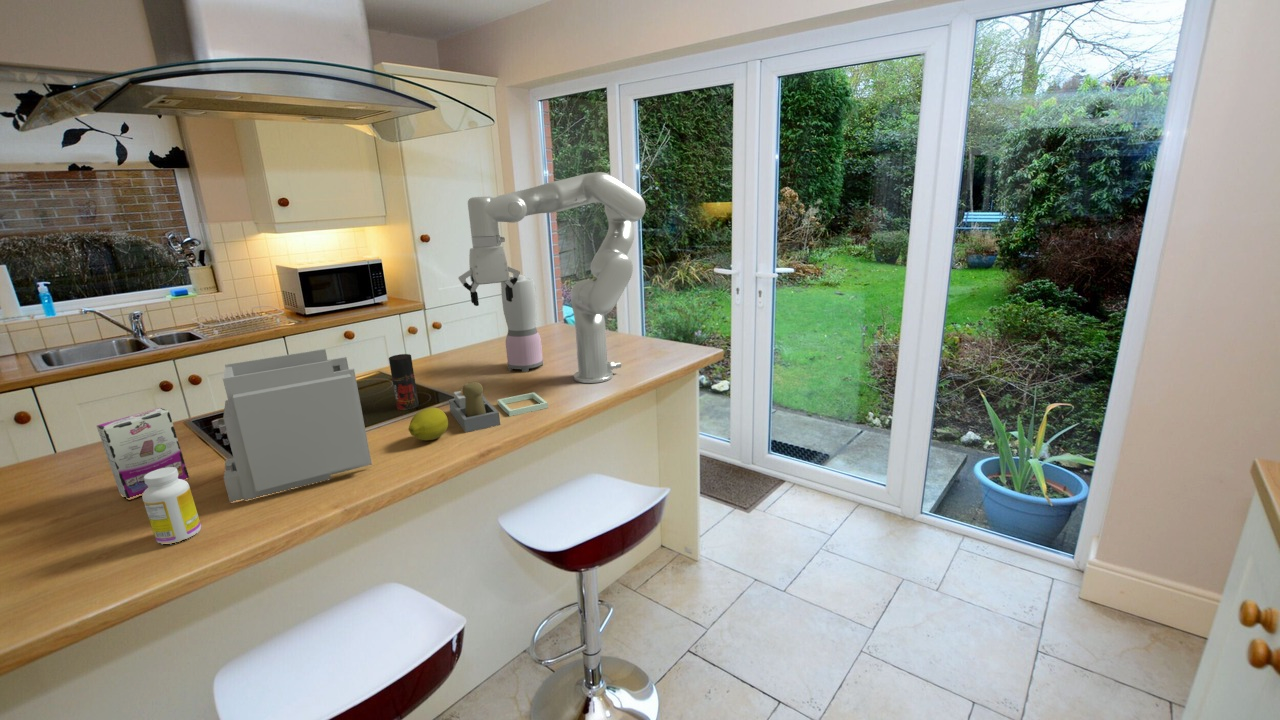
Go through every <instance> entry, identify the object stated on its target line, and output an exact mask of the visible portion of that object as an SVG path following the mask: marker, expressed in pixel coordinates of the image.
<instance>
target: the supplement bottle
mask: <svg viewBox="0 0 1280 720" xmlns="http://www.w3.org/2000/svg"><path fill="white" fill-rule="evenodd" d="M178 475H179V474H178V471H177V468H175V467H167V468H161V469H157V470H154V471H152V472H150V473H148V474H146V475H145V476H144V481H145V484H146V485H147V486H148V488H147V489H146V490H145V491H144V492H143V495H142V497H141V498H142V502H143V504H144V506H145V510H146V514H147V518H148V520H149V523H150V527H151V530H152V532H153V535H154V538H155V541H156V542H157V544H159V543H172V542H178V541H180V540H183V539H187V538H189V537H191V536H193V535H195V534H196V533H197V534H198V533H200V531H201V529H202V524H201V520H200V517H199V513H198V511H197V507H196V504H195V500H194V497H193V493H192V490H191V486H190V484H189V483H188V481H187V480H182V479H178ZM197 534H196V535H197ZM196 535H195V536H196ZM193 537H194V536H193ZM191 538H192V537H191ZM189 539H190V538H189ZM187 540H188V539H187Z"/></svg>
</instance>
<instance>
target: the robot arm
mask: <svg viewBox="0 0 1280 720" xmlns="http://www.w3.org/2000/svg"><path fill="white" fill-rule="evenodd" d="M593 203H600V204H602V205H603V206H604V212H605V216H606V218H607V222H608V230H607V233H606V236H605V238H604V239H603V241H602V243H601V245H600V246H599V248H598V250H597V251H596V254H595V255H594V256H593V259H592V260H591V263H590V272H591V275H593V276H594V277H595V278H596V280H595V281H594V280H591V279H582V280H579V281H578V282H576V283H575V284H574V285H573V286H572V289H571V292H570V302H571V308H572V311H573V318H574V319H573V320H574V328H575V341H576V343H575V344H576V355H577V358H576V359H577V369H578V370H577V372H575V373H574V374H573V379H574V381H576V382H578V383H582V384H583V383H585V384H596V383H602V382H606V381H607V382H608V380H611V379H612V378H613V376H614V373H613V370H615V369H621V368H622V363H621V362H620V361H618V362H614V361H610V362H609V361H608V354H607V353H608V352H607V351H608V350H607V348H608V347H607V337H606V336H607V335H606V334H607V333H606V332H607V331H606V321H605V320H606V319H605V315H606V314H608V313H610V312H611V311H612V310H613V309H614V308H615V306H616V305H617V303H618V302H619V300H620V299H621V296H622V295H623V293H624V291H625V289H626V288H627V286H628V284H629V282H630V280H631V278H632V276H633V271H634V266H633V262H632V259H631V258H630V257H629V256H628V253H629V252H630V250H631V248H632V246H633V243H634V239H635V227H634V222H638V221H640V220H641V219H642V218H643V217H644V215H645V213H646V211H647V210H646V209H647V208H646V203H645V200H644V198H643V197H642V196H641V194H639V193H638V192H636V191H635V190H634V189H632V188H630V187H629V186H627V185H626V184H625V183H623V182H622V181H620V180H619V179H617V178H616V177H614V176H612V175H611V174H610V173H606V172H602V171H597V172H589V173H584V174H580V175H577V176H576V175H575V176H572V177H568V178H567V177H566V178H563V179H559V180H555V181H551V182H546V183H543V184H540V185H537V186H534V187H530V188H526V189H520V190H517V191H516V190H515V191H513V192H510V193H504V194H500V195H498V196H494V197H492V196H473V197H470V198H468V200H467V210H468V218H469V227H470V234H471V235H470V236H471V244H472V248H469V255H468V257H469V269H468V270H467V271H466V272H464V273H462V274H461V275H459V276H458V280H459V282H460V283H461V284H462V286H463V287H464V288H465V289H467V290H468V291H469V293H470V300H471V304H473V305H474V306H475V307H478V306H479V305H480V304H479V303H480V302H479V295H478V292H477V291H476V290H477V289H478V287H479V285H489V284H490V285H491V284H501V282H504V283H505V284H506V288H505V291H506V300H507V301H509V302H512V298H513V290H512V288H513V286H514V284H515V283H516V282H517V279H518V277H519V275H521V271H520V270H518V269H515V268H512V267H510V266H508V262H507V257H506V253H505V249H504V247H503V246H501V245H502V243H505V241H506V240H505V237H504V236H501V235H500V229H499V228H500V227H499V222H501V223H511V224H514V223H518V222H521V221H522V220H523V219H524V218H525V217H528V216H533V215H539V214H554V213H558V212H559V213H560V212H564V211H566V210H571V209H574V208H579V207H582V206H585V205H589V204H593ZM509 272H510V273H511V274H513V278H512V279H511V280H510V281H509V280H508V279H509V276H510V275H509ZM468 278H470V282H471V283H470V284H469V283H468V281H467V280H466V279H468Z"/></svg>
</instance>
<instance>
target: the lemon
mask: <svg viewBox="0 0 1280 720" xmlns="http://www.w3.org/2000/svg"><path fill="white" fill-rule="evenodd" d="M448 427H449V420H448V417H447V415H446V412H444V411H443V410H442V409H440V408H438V407H427V408H423V409H421V410H420V411H418V412H417V413H416V414H414V416H413V417H412V418H411V420H410V423H409V426H408V432H409V433H410V435H411V436H413V437H414V438H415V439H418V440H420V441H433V440H436V439H438V438H440V437H441V436H442V435H444V434H445V432H446V431H447V429H448Z"/></svg>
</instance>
